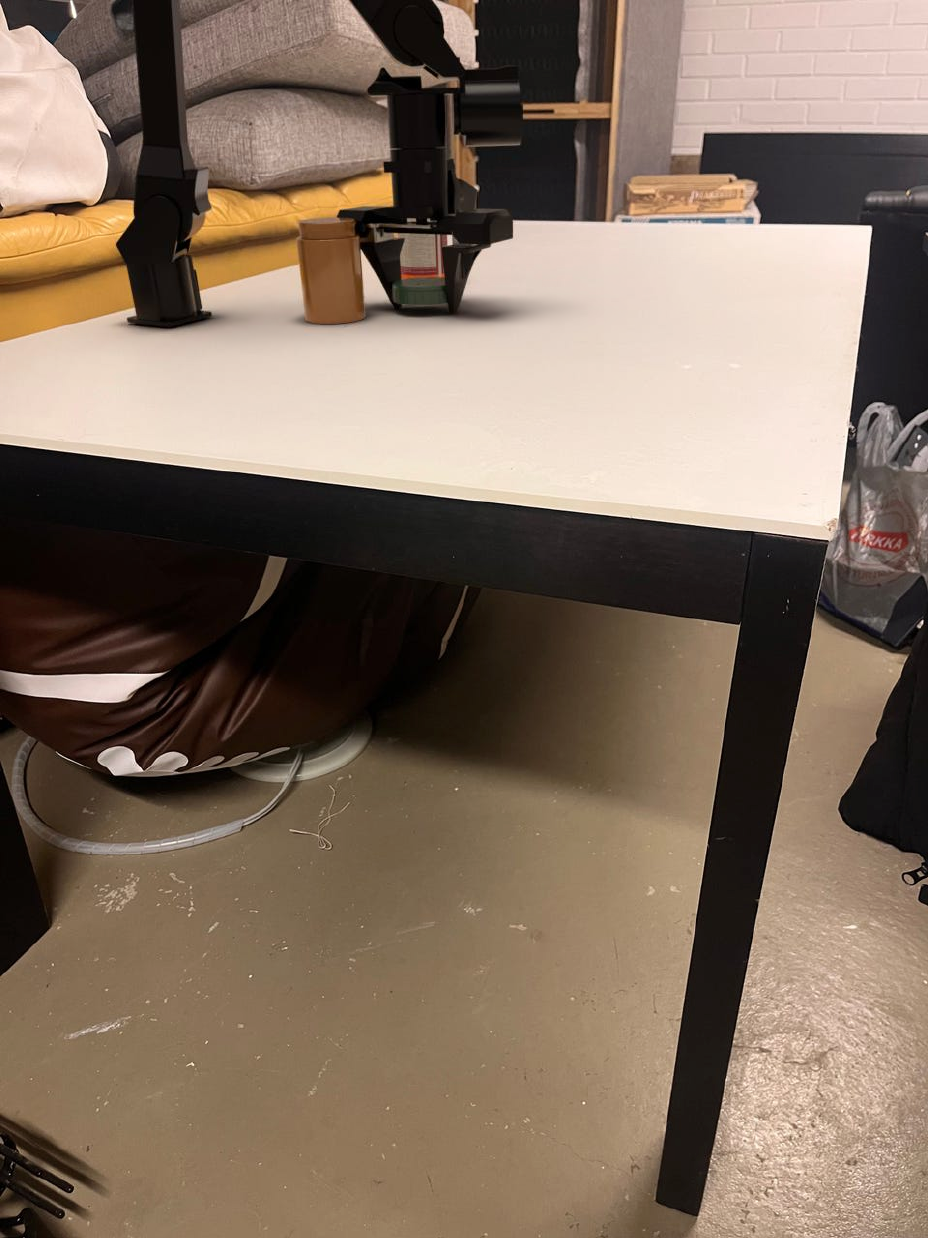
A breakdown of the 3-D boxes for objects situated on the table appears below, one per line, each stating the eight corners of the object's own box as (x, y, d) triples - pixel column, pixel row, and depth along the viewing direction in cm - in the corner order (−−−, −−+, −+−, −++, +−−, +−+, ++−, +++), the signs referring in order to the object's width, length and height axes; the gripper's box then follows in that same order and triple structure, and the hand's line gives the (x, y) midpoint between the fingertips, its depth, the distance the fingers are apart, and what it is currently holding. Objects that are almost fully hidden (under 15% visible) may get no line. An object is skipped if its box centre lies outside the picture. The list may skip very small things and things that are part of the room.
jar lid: (421, 291, 99) (420, 274, 98) (470, 297, 95) (469, 279, 94) (379, 301, 94) (378, 283, 93) (428, 307, 90) (428, 289, 89)
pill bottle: (429, 277, 115) (425, 181, 110) (458, 282, 111) (455, 183, 105) (390, 283, 112) (384, 185, 106) (419, 288, 108) (414, 186, 102)
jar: (341, 326, 89) (332, 224, 84) (292, 321, 92) (281, 222, 87) (377, 314, 94) (370, 217, 89) (330, 310, 97) (321, 216, 92)
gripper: (537, 144, 89) (535, 304, 97) (385, 146, 97) (394, 294, 105) (486, 148, 81) (488, 323, 89) (324, 150, 89) (339, 310, 97)
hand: (425, 311), depth 95 cm, fingers closed on jar lid, 7 cm apart
